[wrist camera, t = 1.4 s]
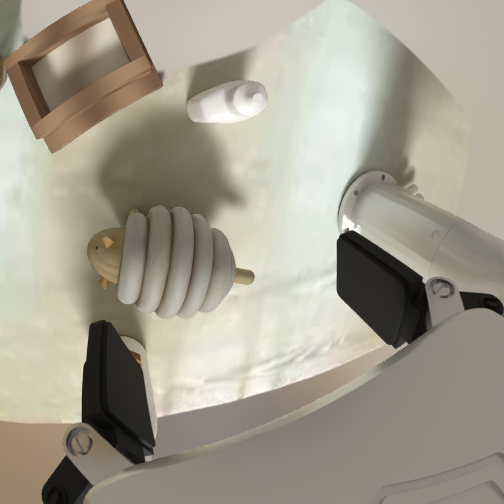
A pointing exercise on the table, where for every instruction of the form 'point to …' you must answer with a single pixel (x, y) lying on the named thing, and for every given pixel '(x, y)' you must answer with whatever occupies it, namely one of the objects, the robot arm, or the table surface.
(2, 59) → the ceramic cup
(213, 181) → the table surface
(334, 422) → the robot arm
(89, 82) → the walnut socket block
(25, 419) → the table surface
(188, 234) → the toy sheep
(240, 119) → the eye dropper bottle
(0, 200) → the table surface
